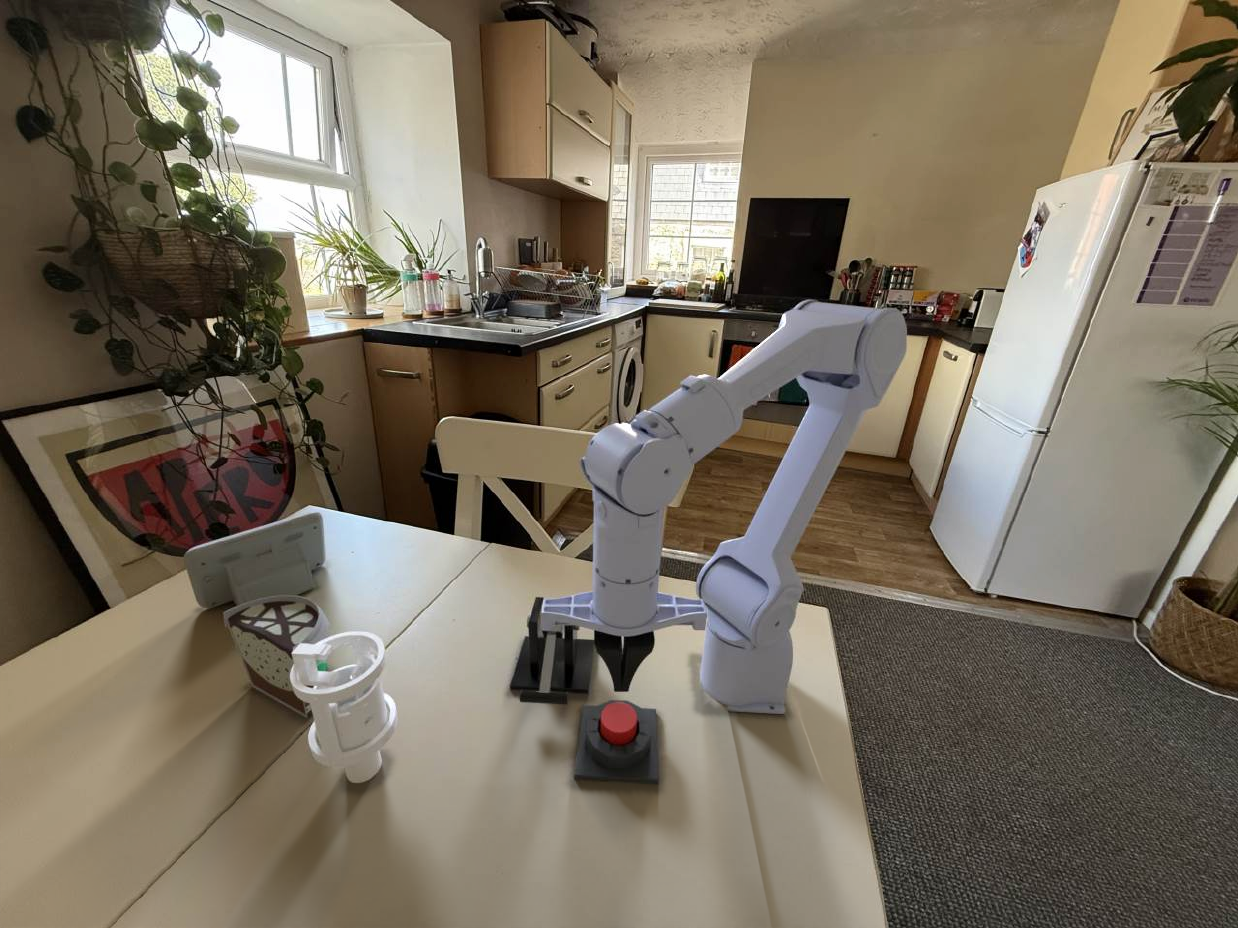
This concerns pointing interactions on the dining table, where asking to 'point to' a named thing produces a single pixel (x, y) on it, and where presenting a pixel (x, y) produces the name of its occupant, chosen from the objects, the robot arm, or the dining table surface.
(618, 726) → the button
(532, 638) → the switch bracket
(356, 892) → the dining table surface
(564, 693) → the switch
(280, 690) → the chocolate cake slice
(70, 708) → the dining table surface
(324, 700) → the white plastic cylinder
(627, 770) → the control block
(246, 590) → the digital clock
